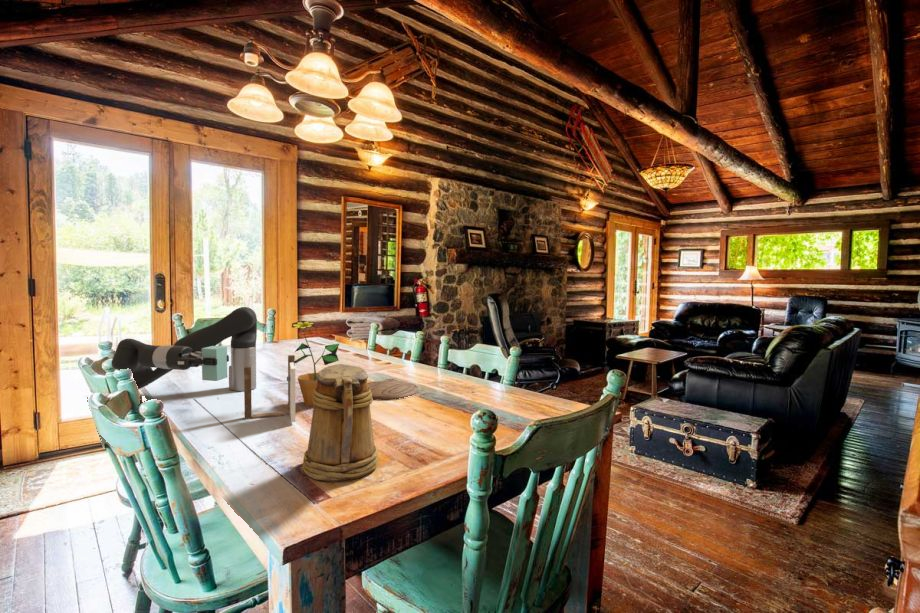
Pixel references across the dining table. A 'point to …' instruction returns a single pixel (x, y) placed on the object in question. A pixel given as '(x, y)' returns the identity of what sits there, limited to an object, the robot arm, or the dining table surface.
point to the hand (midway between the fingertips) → (222, 360)
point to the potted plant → (310, 380)
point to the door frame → (248, 394)
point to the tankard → (341, 426)
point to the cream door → (292, 391)
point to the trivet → (392, 389)
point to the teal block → (218, 370)
